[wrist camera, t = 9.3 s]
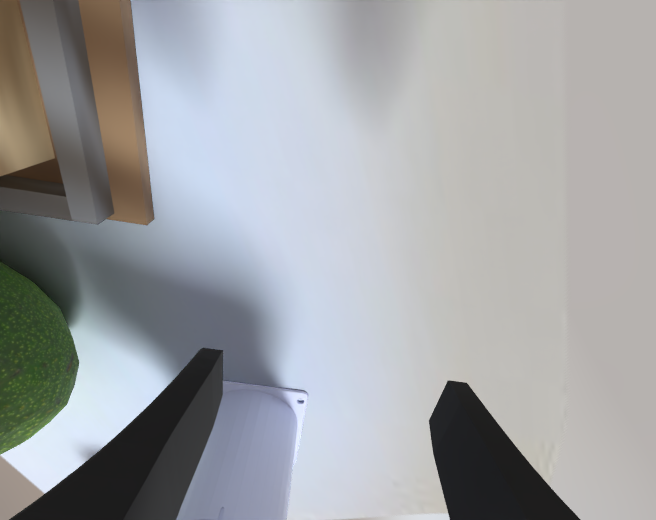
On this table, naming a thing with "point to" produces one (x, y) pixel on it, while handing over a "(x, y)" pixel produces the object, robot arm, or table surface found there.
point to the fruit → (31, 359)
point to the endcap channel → (85, 115)
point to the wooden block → (19, 98)
